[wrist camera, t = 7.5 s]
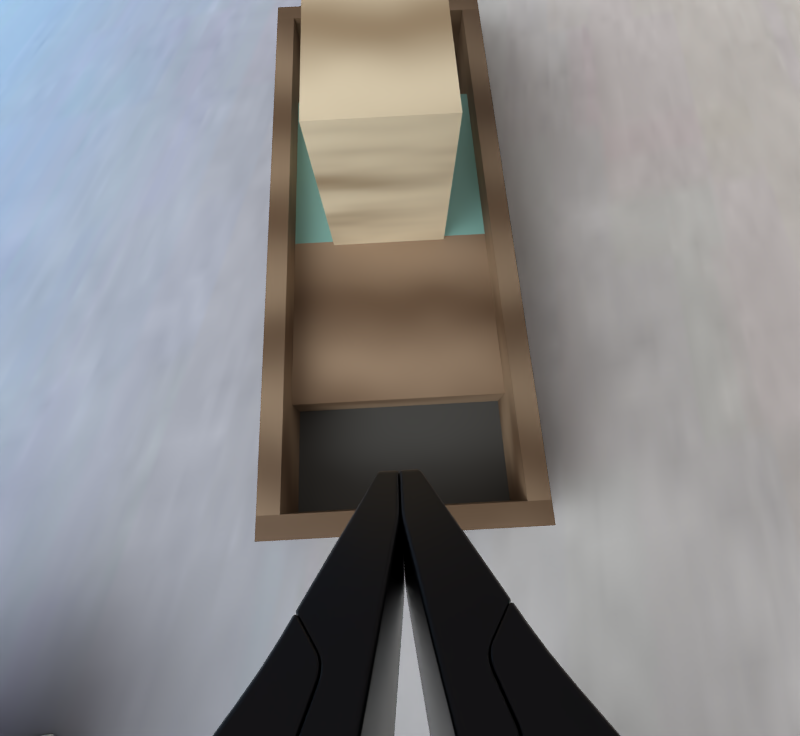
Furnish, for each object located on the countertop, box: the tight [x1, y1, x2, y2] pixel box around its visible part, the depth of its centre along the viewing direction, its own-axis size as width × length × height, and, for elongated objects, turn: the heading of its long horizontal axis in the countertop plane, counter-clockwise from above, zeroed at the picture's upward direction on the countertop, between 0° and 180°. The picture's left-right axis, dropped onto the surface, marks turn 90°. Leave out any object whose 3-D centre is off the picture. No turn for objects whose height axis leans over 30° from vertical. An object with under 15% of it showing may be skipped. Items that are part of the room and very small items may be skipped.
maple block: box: [299, 0, 462, 245], centre depth 21 cm, size 9×6×8 cm, turn 3°
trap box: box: [255, 0, 555, 542], centre depth 24 cm, size 31×12×4 cm, turn 3°
